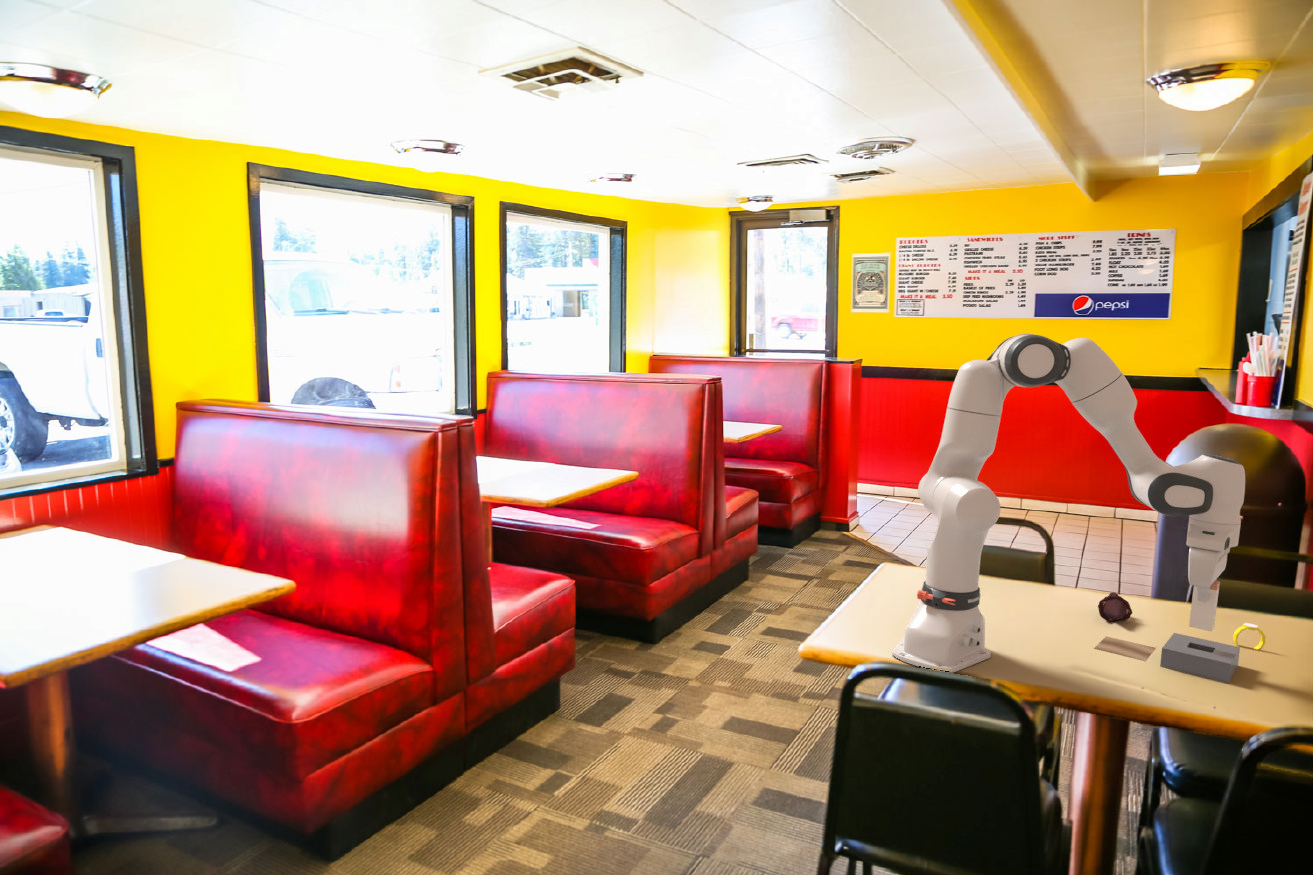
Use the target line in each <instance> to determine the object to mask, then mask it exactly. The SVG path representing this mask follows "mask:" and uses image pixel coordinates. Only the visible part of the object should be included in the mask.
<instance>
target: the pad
mask: <svg viewBox="0 0 1313 875" xmlns="http://www.w3.org/2000/svg"><path fill="white" fill-rule="evenodd" d="M1155 649H1156V647H1154V646H1150V645H1145V644H1141V643H1136V642H1131V641H1128V640H1123V639H1121V638H1120V639H1119V638H1115V637H1111V636H1107V635H1106V636H1105V637H1104V638H1103V639H1101V641H1099V643H1097V644H1096V646H1095V647H1093V650H1098V651H1102V652H1106V653H1111V654H1115V655H1118V656H1122V657H1125V658H1130V659H1131V658H1132V659H1134V660H1139V661H1142V662H1143V661H1144V662H1146V661H1147V659H1148V658H1149V657H1150V656H1151V655H1152V654H1153V652H1154V651H1155Z"/></svg>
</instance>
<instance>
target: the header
mask: <svg viewBox="0 0 1313 875" xmlns="http://www.w3.org/2000/svg"><path fill="white" fill-rule="evenodd" d="M1240 650H1241V646H1236V645H1231V644H1227V643H1223V642H1218V641H1214V640H1208V639H1204V638H1200V637H1194V636H1190V635H1187V634H1186V635H1185V634H1183V633H1182V634H1181V633H1177V632H1173V633H1172V634H1171V636H1170V637H1169V639H1167V641H1166V642H1165V644H1164V645H1163V646H1162V648H1161V654H1160V656H1161V657H1160V668H1165V669H1169V670H1173V671H1177V672H1181V673H1184V674H1189V675H1193V676H1198V677H1202V678H1206V679H1209V680H1214V681H1217V682H1221V683H1226V684H1229V683H1230V682H1231V680H1232V678H1233V676H1234V674H1235V672H1236V670H1237V668H1238V666H1239V661H1240V660H1239V658H1240V653H1241V652H1240Z"/></svg>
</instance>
